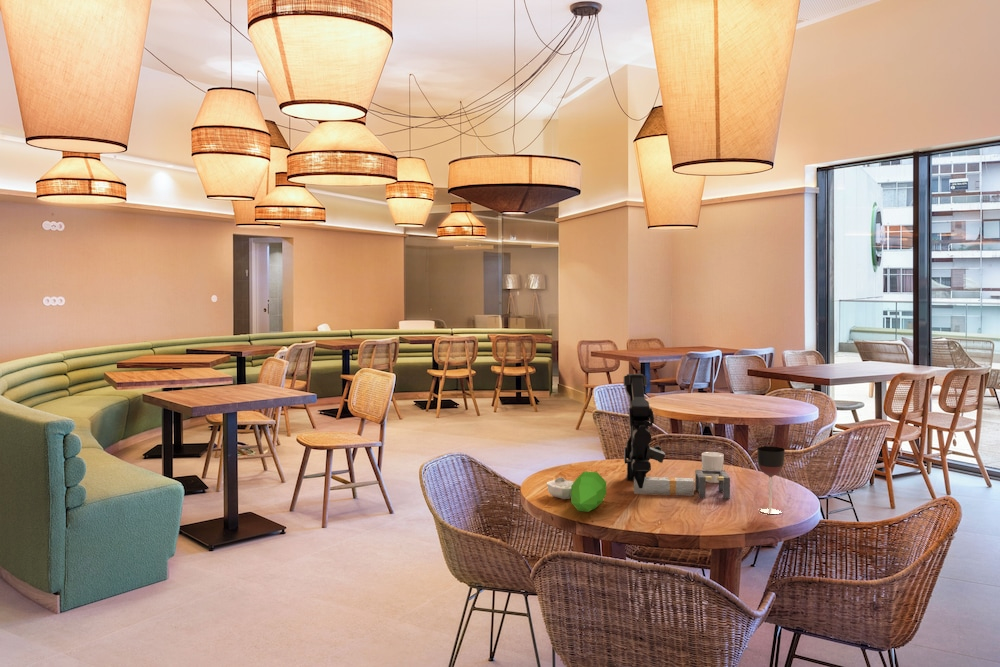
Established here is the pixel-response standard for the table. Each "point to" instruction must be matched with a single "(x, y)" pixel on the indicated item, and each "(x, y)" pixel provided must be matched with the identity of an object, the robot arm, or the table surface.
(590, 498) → the decorative tree
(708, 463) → the white cup
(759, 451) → the wineglass
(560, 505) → the table surface
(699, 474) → the grey c-shaped bracket
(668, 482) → the grey rectangular bar
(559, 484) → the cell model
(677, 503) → the table surface
